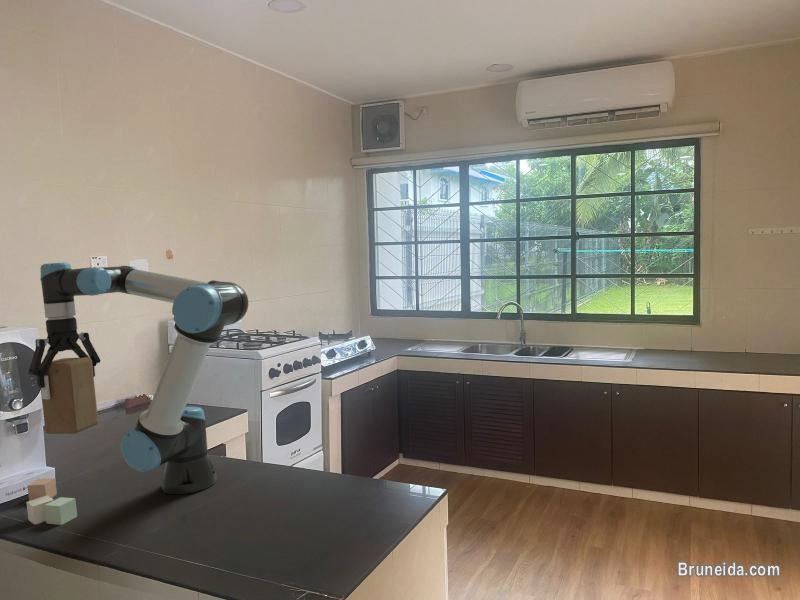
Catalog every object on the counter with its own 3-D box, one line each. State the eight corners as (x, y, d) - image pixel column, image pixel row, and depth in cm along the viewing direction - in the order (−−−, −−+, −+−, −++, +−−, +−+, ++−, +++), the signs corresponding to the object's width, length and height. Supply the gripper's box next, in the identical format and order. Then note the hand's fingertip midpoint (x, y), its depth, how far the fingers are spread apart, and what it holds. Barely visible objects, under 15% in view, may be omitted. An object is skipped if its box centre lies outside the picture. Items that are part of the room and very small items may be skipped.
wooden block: (75, 434, 165) (67, 363, 164) (44, 435, 167) (36, 364, 166) (100, 424, 175) (93, 356, 173) (70, 424, 177) (63, 357, 175)
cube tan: (57, 494, 176) (55, 478, 176) (46, 501, 171) (44, 484, 171) (40, 495, 176) (38, 478, 176) (29, 502, 171) (27, 485, 171)
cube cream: (55, 517, 159) (53, 499, 159) (34, 525, 155) (32, 506, 155) (49, 513, 162) (47, 495, 162) (28, 520, 159) (26, 501, 158)
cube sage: (77, 516, 159) (75, 498, 159) (61, 525, 154) (59, 506, 154) (62, 515, 160) (60, 497, 160) (46, 523, 156) (44, 504, 155)
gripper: (94, 313, 181) (101, 383, 182) (7, 323, 160) (16, 402, 162) (108, 312, 177) (116, 385, 178) (22, 323, 156) (31, 405, 158)
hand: (68, 393), depth 170 cm, fingers closed on wooden block, 12 cm apart
